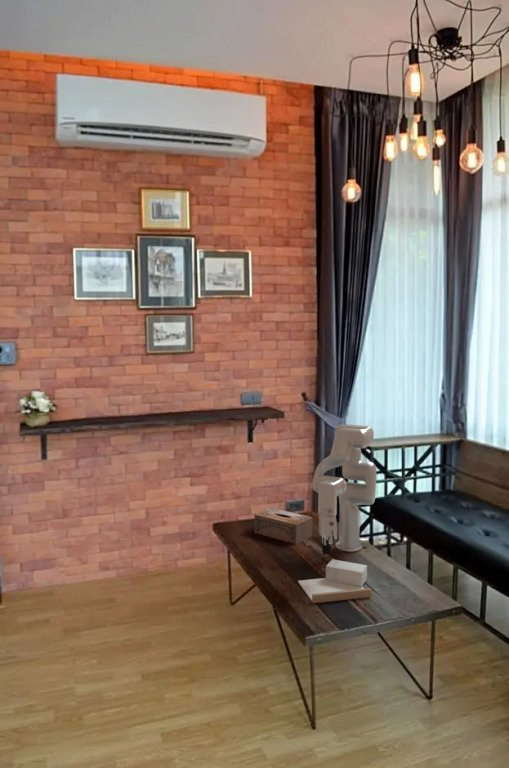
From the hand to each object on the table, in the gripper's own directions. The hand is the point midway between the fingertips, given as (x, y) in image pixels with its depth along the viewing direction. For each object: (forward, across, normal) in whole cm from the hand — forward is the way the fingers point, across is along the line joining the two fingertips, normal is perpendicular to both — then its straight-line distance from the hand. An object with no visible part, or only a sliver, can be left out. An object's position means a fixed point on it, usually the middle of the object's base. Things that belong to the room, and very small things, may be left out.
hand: (326, 553), depth 250 cm
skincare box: (+8, +2, -2) cm, 8 cm away
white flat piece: (+12, -8, 0) cm, 14 cm away
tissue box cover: (+12, +57, +2) cm, 58 cm away
